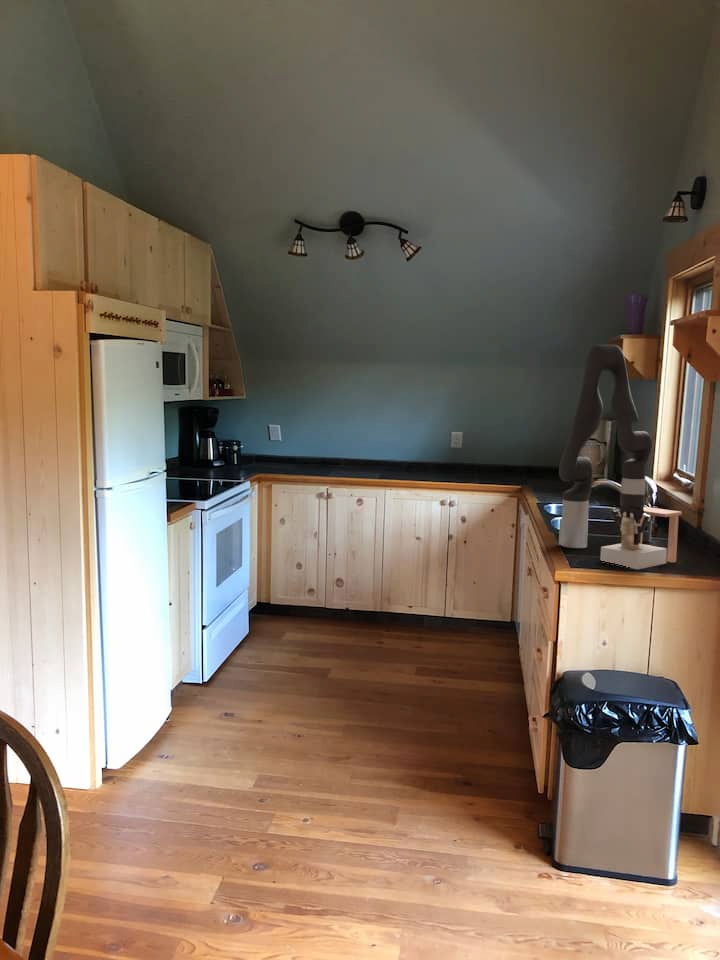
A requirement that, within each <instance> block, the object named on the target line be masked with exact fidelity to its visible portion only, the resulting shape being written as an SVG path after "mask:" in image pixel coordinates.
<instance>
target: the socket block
mask: <svg viewBox="0 0 720 960" xmlns="http://www.w3.org/2000/svg"><path fill="white" fill-rule="evenodd" d="M667 555H668V548H666V547H660V546H654V545H648V544H645V543H642V544H639V550H634V551H631V550H626V549H621V543H616V544H611V545H604V546H600V560H601V561H605V562H610V563H615V564H619V565H623V566H626V567H625V568H628V567H630V568H629V569H632V570H633V569H634V570H642V569H646V568H651V567H655V566H656V567H657V566H661V565H664V564H667ZM600 560H599V561H600ZM605 562H604V563H605ZM619 565H618V566H619ZM623 566H622V567H623Z"/></svg>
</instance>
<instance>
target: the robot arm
mask: <svg viewBox="0 0 720 960" xmlns="http://www.w3.org/2000/svg"><path fill="white" fill-rule="evenodd" d="M585 359H586V360H585V362H584V363H585V364H584V369H583V370H584V371H583V376H582V377H583V378H582V384H581V388H580V392H579V396H578V400H577V404H576V407H575V412H574V415H573V420H572V425H571V429H570V433H569V435H568V439H567V442H566V445H565V448H564V451H563V453H562V455H561V458H560V462H559V467H558V475H559V478H560V479H561V481H563V482H566V483H567V482H569V483H572V482H574V485H573V486H572V487H571V488H569V489H567V490H565V491H564V492H563V494H562V512H561V519H559V526H558V527H559V530H558V531H559V532H558V533H559V534H558V535H559V536H558V545H559V546H561V547H563V548H569V549H585V548H587V547H588V533H589V532H588V529H589V527H588V525H589V502H590V495H591V492H592V484H593V483H592V481H593V472H594V471H593V468H594V467H593V463H592V460H591V459H590V457H588V456H580V453H581V451H582V448H583V447H584V446H585V444H587V442H588V441H589V440H590V439H591V438H592V437H593V436H594V435H595V434H596V432H597V431H598V430H599V428H600V425H601V422H602V418H603V414H604V403H603V400H602V397H601V395H600V390H599V384H600V378H601V375H602V373H610V375H611V377H612V380H613V391H612V395H611V400H610V401H611V403H610V404H611V410H612V412H613V413H612V414H613V416H614V419H615V423H616V431H617V445H618V447H619V449H620V450H621V451H622V452H624V453H626V454H627V453H628V454H632V455H631V457H630V459H627V460H625V461H624V462H623V463H622V473H621V474H622V477H621V483H620V498H619V499H620V500H619V506H620V508H619V510H613V511H612V512H611V513H612V514H611V515H612V518H613V522H614V527H615V529H617V530H620V539H621V538H622V517H629V518H633V519H634V525H633V526H634V533H635V534H634V545H638V544H639V543H640V540H641V533H643V532H647V529H648V527H649V524H650V522H651V520H652V519H653V515H650V516H648V515H646V514H645V512H644V509H643V508H644V507H645V505H646V504H645V501H646V500H645V499H646V466H647V463H648V461H649V458H650V455H651V452H652V447H653V440H652V437H651V435H650V434H649V433H648V432H647V431H644V430H641V431H640V430H637V431H636V430H635V431H634V429H633V427H634V426H635V425H638V423H639V421H640V419H639V418H640V417H639V414H638V411H637V408H636V406H635V404H634V403H635V402H634V400H633V397H632V393H631V388H630V382H629V377H628V371H627V363H626V359H625V356H624V352H623V350H622V348H621V347H620V346H618V345H617V344H595V345H593V346H591V347H590V349H589V351H588V352H587V354H586V358H585ZM642 517H643V519H642V520H643V522H642V523H641V518H642ZM638 522H639V523H638ZM636 523H638V524H636Z"/></svg>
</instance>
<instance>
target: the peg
mask: <svg viewBox="0 0 720 960" xmlns="http://www.w3.org/2000/svg"><path fill="white" fill-rule="evenodd" d="M621 520H622V538H621V537H620V541H621V542H620V544H621V549H626V550H631V551H634V550H639V544H638V545H634V534H635V533H634V526H633V525H634V519H633V518H629V517H622V516H621ZM638 523H639V522H638ZM638 523H636V524H638Z"/></svg>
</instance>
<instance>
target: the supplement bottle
mask: <svg viewBox="0 0 720 960" xmlns="http://www.w3.org/2000/svg"><path fill="white" fill-rule="evenodd" d="M646 515H647V514H646ZM648 516H651V515H648ZM652 525H653V520H652V519H651V522H650V524H649V527H648V529H647V532H643V537H642V542H649V543H651V539H652V528H653V527H652Z"/></svg>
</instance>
